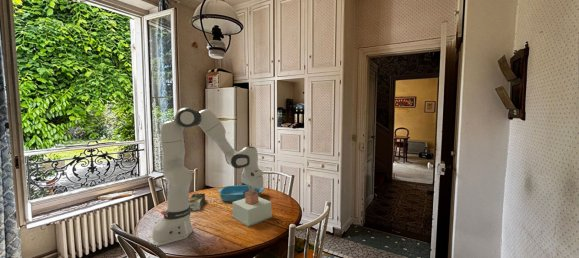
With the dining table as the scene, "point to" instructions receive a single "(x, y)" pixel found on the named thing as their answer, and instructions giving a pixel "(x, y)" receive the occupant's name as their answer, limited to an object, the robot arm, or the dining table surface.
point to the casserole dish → (235, 192)
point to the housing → (251, 211)
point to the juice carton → (196, 201)
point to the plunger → (251, 197)
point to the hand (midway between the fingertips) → (251, 192)
